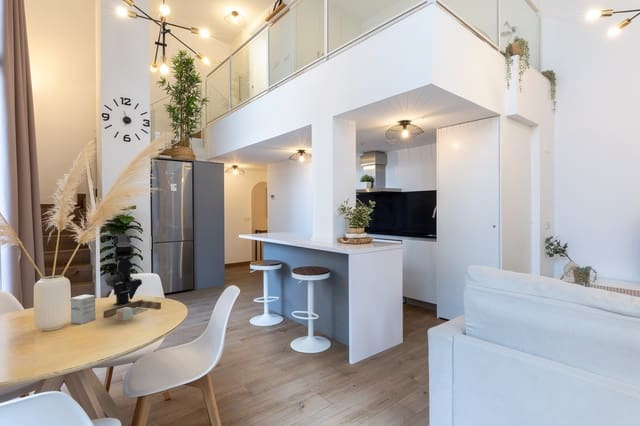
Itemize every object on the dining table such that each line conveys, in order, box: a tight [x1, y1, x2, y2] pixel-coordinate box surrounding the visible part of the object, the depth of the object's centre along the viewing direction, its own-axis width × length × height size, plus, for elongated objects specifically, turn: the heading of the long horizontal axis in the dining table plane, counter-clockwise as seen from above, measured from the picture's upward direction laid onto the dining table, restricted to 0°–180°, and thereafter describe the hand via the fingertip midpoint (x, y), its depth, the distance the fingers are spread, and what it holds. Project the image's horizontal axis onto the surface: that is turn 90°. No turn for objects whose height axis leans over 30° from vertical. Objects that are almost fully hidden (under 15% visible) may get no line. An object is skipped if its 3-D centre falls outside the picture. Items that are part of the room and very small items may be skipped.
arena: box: [103, 299, 162, 319], centre depth 168 cm, size 16×22×4 cm
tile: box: [133, 307, 149, 315], centre depth 170 cm, size 8×8×1 cm
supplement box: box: [70, 294, 96, 325], centre depth 156 cm, size 7×7×13 cm
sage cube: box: [116, 307, 134, 322], centre depth 159 cm, size 5×5×5 cm
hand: (124, 298), depth 159 cm, fingers open, 9 cm apart
